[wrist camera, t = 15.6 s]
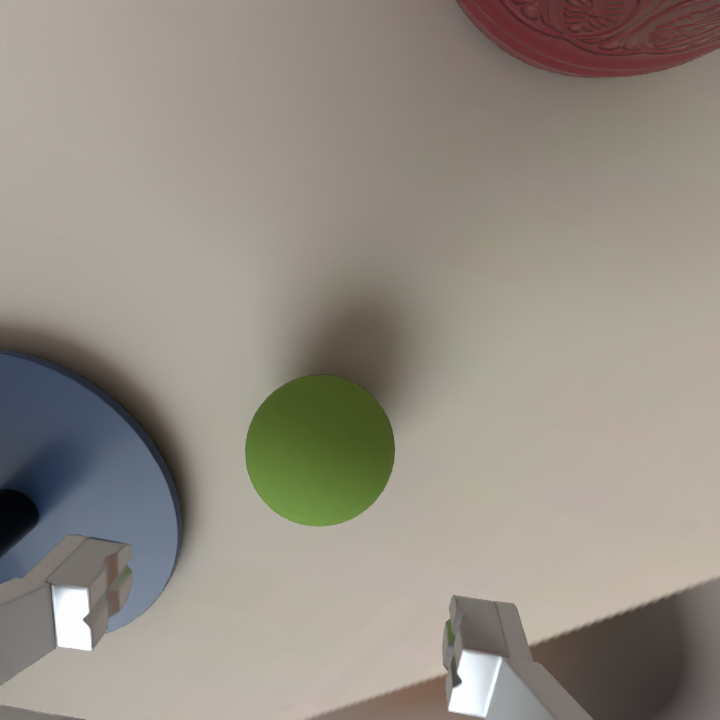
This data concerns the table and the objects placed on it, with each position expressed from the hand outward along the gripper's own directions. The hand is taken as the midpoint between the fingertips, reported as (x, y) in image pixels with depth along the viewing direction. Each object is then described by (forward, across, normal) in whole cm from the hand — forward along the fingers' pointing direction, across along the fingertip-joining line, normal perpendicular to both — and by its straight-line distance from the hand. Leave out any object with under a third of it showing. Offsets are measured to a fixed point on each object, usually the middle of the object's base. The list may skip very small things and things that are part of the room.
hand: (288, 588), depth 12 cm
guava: (+7, 0, 0) cm, 7 cm away
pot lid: (+9, +14, +6) cm, 18 cm away
